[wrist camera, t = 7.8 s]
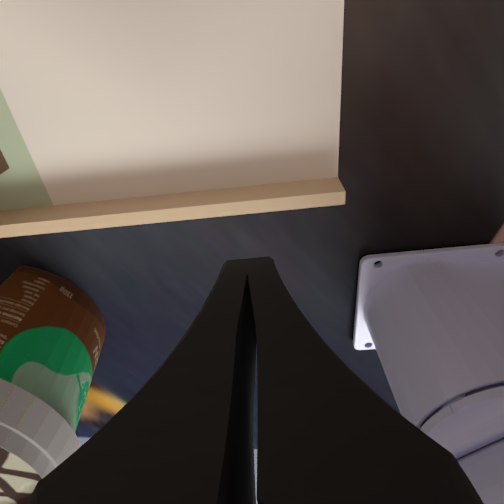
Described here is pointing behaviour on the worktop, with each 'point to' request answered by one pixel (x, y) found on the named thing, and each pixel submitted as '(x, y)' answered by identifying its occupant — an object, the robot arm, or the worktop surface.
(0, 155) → the walnut block
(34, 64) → the trap deck
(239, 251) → the worktop surface
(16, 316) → the food container
